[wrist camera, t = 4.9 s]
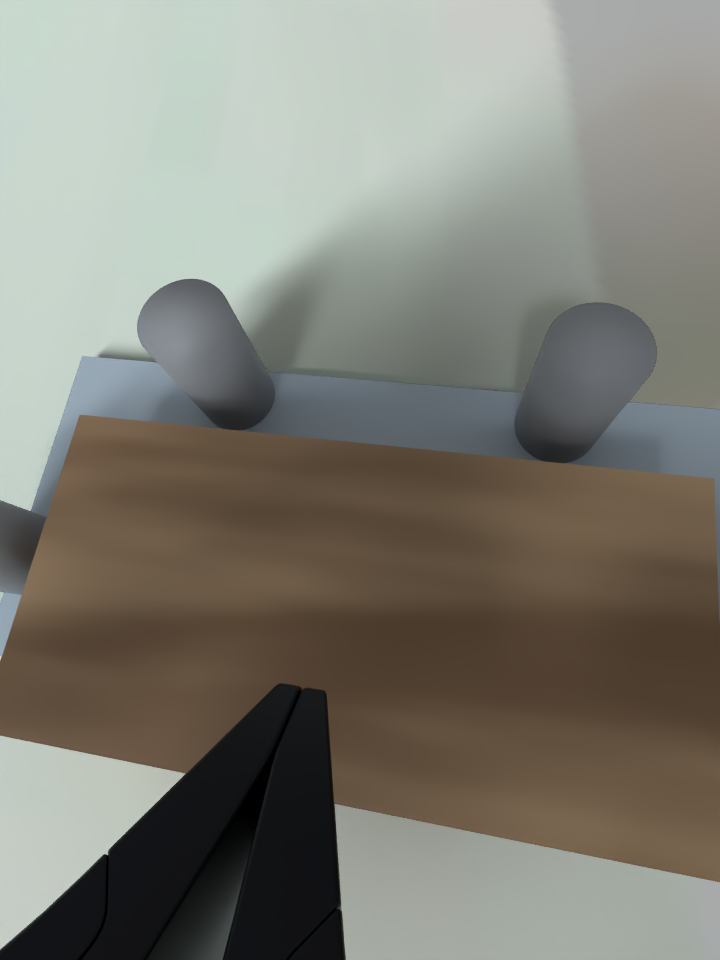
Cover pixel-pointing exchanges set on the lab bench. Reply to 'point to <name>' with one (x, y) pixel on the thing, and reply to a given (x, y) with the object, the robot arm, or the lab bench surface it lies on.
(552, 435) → the peg plate
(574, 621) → the shelf board
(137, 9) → the lab bench surface
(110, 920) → the robot arm
